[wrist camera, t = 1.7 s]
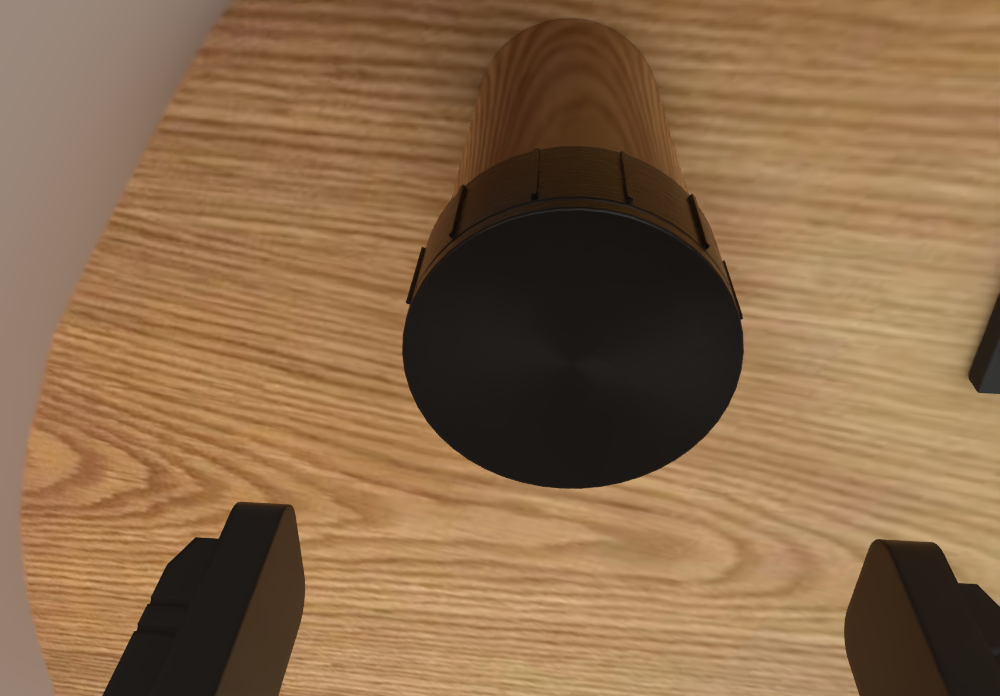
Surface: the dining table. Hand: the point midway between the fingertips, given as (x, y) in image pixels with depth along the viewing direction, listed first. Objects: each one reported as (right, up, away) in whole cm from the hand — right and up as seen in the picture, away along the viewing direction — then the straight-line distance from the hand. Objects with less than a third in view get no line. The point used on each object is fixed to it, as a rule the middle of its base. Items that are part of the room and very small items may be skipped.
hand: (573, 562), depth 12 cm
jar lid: (0, +4, +6) cm, 8 cm away
